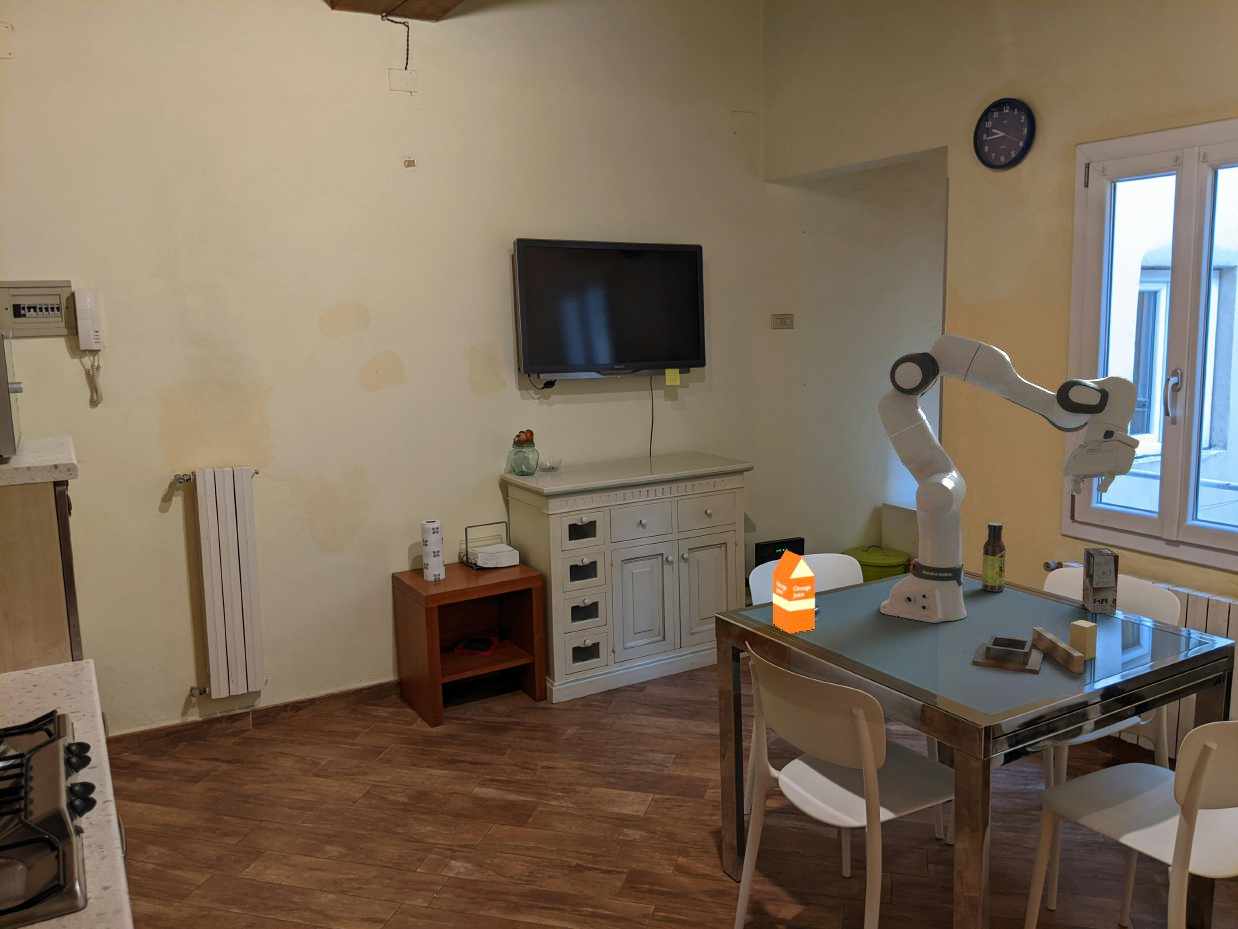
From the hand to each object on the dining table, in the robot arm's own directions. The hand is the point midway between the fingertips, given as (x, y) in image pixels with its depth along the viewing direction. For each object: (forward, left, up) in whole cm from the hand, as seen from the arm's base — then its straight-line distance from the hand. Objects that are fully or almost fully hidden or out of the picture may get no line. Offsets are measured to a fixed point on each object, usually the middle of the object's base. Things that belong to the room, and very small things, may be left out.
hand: (1088, 493), depth 220 cm
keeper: (-14, -22, -37) cm, 45 cm away
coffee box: (+3, +29, -37) cm, 47 cm away
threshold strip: (-5, -16, -37) cm, 40 cm away
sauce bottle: (-25, +37, -37) cm, 58 cm away
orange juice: (-67, -20, -37) cm, 79 cm away
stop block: (+1, -13, -37) cm, 39 cm away
